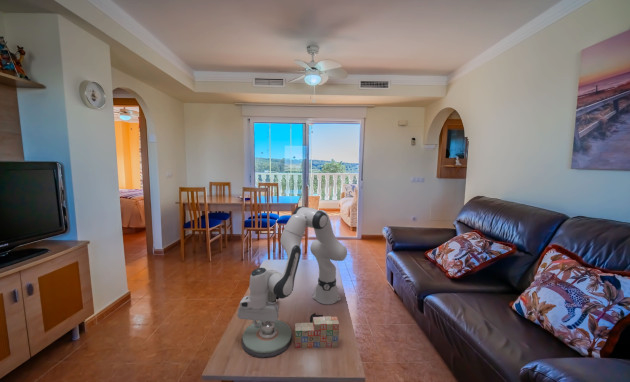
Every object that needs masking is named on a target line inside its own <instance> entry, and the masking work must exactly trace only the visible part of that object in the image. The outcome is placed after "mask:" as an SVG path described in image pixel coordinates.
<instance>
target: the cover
mask: <svg viewBox="0 0 630 382" xmlns="http://www.w3.org/2000/svg"><path fill="white" fill-rule="evenodd" d="M276 335H277V328H276V327H275V322H271V321H264V322H263V323H262V328H261V329H260V331H259V336H260V337H261V338H262V339H272V338H274V337H275V336H276Z"/></svg>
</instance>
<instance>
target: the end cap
mask: <svg viewBox="0 0 630 382" xmlns="http://www.w3.org/2000/svg"><path fill="white" fill-rule="evenodd" d="M313 317H324V315H323V314H317V313H316V312H314V313H312V314H311V315H310V316H309V323H313Z"/></svg>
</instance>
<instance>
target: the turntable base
mask: <svg viewBox="0 0 630 382" xmlns="http://www.w3.org/2000/svg"><path fill="white" fill-rule="evenodd" d="M292 343H293V332H292V331H291V339H290V341H289V343H288V344H287V345H286V346H285V347H284V348H282V349H280V350H278V351H276V352H272V353H256V352H253V351H250V350H249V349H247V348H246V347H245V345H244V343H243V336H242V337H241V347H242V349H243V351H244V352H245V353H246V354H247V355H249V356H251V357H255V358H259V359H267V358H274V357H276V356H279V355H281V354H283V353H285V352H286V351H287V350H288V349H289V348H290V346H291V345H292Z"/></svg>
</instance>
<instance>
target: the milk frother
mask: <svg viewBox="0 0 630 382" xmlns="http://www.w3.org/2000/svg"><path fill="white" fill-rule="evenodd" d="M278 300H280V298H278V297H277V296H276V295H275V294H274V293H273V292H271V291H269V292H268V293H267V302H275V303H277V301H278Z"/></svg>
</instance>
